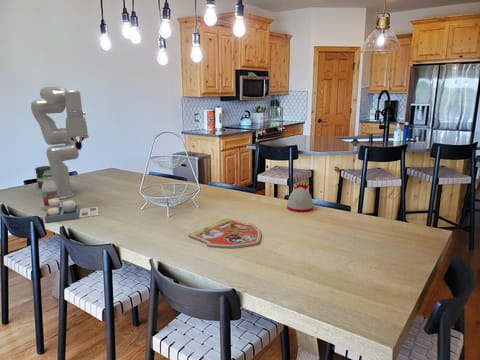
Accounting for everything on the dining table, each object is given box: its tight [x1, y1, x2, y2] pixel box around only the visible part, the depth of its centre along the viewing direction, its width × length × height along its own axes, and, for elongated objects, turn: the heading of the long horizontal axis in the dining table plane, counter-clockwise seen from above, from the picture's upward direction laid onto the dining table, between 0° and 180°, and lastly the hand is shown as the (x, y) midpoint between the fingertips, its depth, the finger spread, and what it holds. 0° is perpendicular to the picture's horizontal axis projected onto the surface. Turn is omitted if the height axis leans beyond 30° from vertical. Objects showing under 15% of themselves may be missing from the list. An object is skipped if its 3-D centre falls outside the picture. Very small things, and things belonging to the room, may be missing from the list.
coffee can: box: [34, 165, 51, 191], centre depth 239 cm, size 10×10×14 cm
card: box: [78, 206, 99, 219], centre depth 189 cm, size 14×9×1 cm, turn 22°
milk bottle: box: [41, 173, 61, 211], centre depth 195 cm, size 8×8×20 cm
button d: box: [62, 199, 75, 212], centre depth 181 cm, size 5×5×5 cm
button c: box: [48, 207, 59, 216], centre depth 179 cm, size 5×5×5 cm
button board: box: [44, 204, 80, 224], centre depth 184 cm, size 15×15×3 cm
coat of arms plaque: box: [187, 217, 262, 249], centre depth 157 cm, size 29×30×4 cm
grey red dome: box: [286, 181, 314, 213], centre depth 190 cm, size 14×14×15 cm
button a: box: [48, 198, 61, 208], centre depth 185 cm, size 5×5×5 cm
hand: (79, 149), depth 189 cm, fingers closed
